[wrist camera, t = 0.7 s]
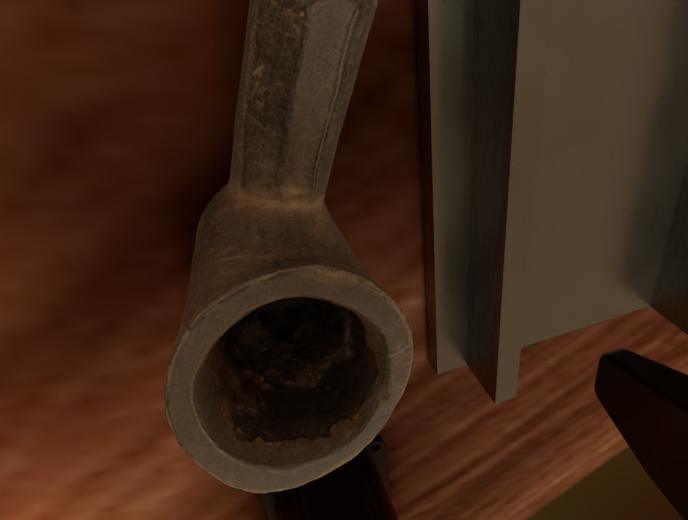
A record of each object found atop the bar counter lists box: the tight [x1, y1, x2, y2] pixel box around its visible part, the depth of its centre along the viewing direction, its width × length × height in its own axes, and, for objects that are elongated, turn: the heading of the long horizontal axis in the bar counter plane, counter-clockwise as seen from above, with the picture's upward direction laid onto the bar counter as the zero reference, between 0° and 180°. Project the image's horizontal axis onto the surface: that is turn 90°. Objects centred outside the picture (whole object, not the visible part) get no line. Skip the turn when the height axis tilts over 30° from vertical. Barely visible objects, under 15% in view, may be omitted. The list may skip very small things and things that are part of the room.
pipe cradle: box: [415, 0, 688, 404], centre depth 19 cm, size 22×14×5 cm, turn 7°
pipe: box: [165, 0, 414, 494], centre depth 15 cm, size 6×13×8 cm, turn 168°
